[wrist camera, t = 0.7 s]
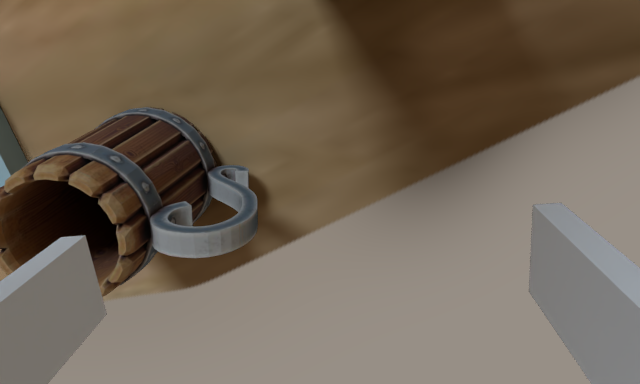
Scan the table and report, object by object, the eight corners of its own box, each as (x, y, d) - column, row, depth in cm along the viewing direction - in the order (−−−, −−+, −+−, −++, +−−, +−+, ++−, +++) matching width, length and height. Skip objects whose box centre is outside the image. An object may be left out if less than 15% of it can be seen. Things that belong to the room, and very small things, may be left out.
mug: (104, 222, 43) (-19, 318, 28) (90, 102, 39) (-58, 142, 25) (280, 231, 42) (244, 334, 28) (280, 109, 39) (239, 154, 24)
